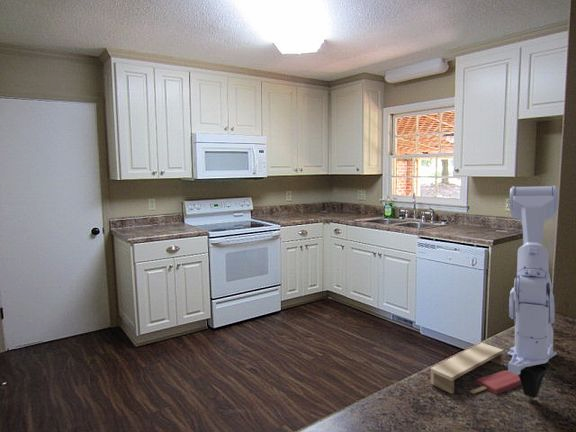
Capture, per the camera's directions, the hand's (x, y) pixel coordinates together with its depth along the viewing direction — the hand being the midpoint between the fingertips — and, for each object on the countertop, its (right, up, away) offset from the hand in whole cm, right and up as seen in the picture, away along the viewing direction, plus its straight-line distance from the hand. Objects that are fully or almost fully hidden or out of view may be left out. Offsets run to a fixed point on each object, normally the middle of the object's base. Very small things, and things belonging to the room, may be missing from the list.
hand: (530, 395), depth 86 cm
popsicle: (-4, -1, +6) cm, 8 cm away
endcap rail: (-8, 0, +12) cm, 14 cm away
